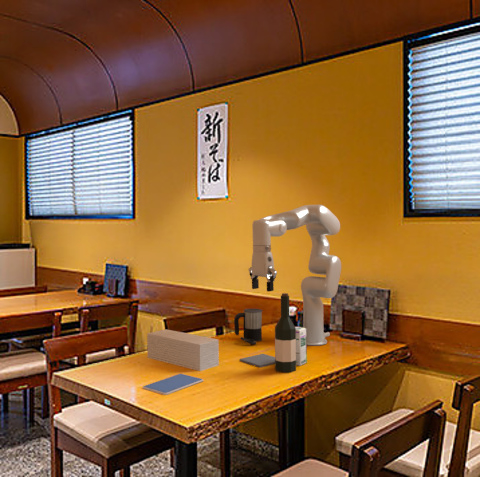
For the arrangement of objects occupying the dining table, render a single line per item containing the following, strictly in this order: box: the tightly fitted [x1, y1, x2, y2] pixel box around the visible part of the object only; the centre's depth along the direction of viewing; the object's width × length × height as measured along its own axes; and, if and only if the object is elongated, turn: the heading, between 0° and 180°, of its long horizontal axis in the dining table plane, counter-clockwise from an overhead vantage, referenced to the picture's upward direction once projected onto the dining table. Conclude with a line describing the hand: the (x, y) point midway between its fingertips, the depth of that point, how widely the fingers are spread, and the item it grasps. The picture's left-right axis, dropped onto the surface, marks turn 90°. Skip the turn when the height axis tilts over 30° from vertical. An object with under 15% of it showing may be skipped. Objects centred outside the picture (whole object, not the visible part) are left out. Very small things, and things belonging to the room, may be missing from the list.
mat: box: [239, 353, 275, 368], centre depth 216 cm, size 13×13×1 cm
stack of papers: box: [146, 329, 220, 372], centre depth 217 cm, size 32×11×11 cm, turn 49°
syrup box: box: [295, 326, 308, 367], centre depth 212 cm, size 6×6×14 cm
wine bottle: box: [274, 292, 297, 374], centre depth 203 cm, size 8×8×30 cm
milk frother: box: [233, 308, 263, 346], centre depth 250 cm, size 14×16×15 cm
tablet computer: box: [142, 373, 204, 396], centre depth 187 cm, size 19×13×1 cm, turn 141°
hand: (262, 289), depth 218 cm, fingers open, 9 cm apart
